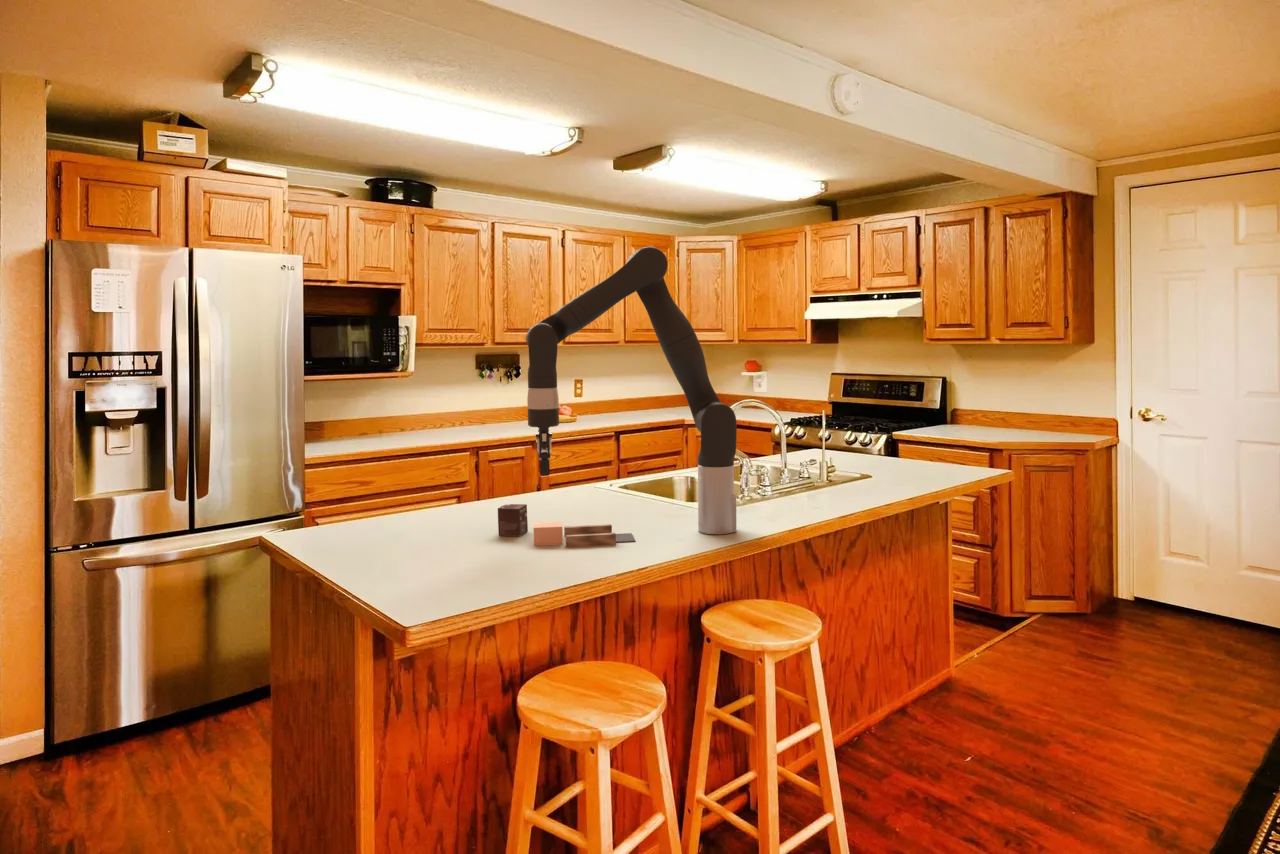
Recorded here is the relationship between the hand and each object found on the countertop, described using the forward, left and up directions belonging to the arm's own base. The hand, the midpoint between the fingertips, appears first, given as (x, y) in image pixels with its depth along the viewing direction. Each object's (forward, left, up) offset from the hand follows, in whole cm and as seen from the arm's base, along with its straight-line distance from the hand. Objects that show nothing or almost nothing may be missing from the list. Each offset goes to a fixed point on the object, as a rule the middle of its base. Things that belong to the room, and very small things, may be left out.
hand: (544, 472), depth 185 cm
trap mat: (-19, 0, -17) cm, 26 cm away
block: (0, 0, -18) cm, 18 cm away
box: (+8, -11, -18) cm, 22 cm away
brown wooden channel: (-11, 0, -17) cm, 20 cm away
